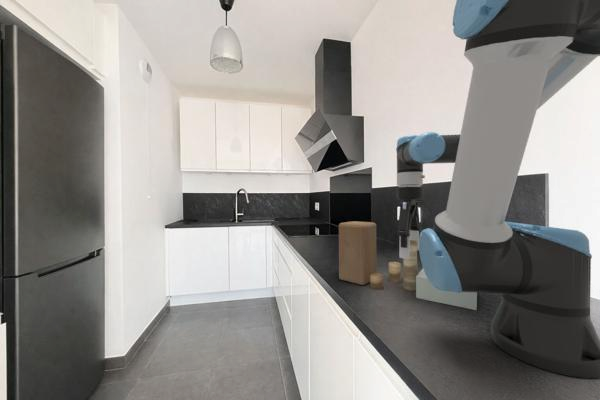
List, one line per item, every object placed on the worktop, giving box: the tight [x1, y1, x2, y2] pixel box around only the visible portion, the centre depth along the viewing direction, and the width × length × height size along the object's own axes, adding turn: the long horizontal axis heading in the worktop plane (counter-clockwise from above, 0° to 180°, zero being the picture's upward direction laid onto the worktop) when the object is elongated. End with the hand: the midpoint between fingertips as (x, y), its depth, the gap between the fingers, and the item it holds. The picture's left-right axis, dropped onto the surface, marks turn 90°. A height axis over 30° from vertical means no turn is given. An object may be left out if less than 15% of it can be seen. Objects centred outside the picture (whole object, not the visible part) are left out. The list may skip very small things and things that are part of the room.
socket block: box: [415, 268, 478, 311], centre depth 72 cm, size 14×14×6 cm
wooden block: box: [338, 220, 378, 286], centre depth 87 cm, size 10×10×20 cm
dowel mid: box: [388, 261, 402, 284], centre depth 85 cm, size 4×4×6 cm
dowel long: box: [402, 240, 418, 292], centre depth 78 cm, size 4×4×15 cm
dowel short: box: [369, 273, 384, 291], centre depth 79 cm, size 4×4×4 cm
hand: (409, 253), depth 78 cm, fingers open, 13 cm apart
